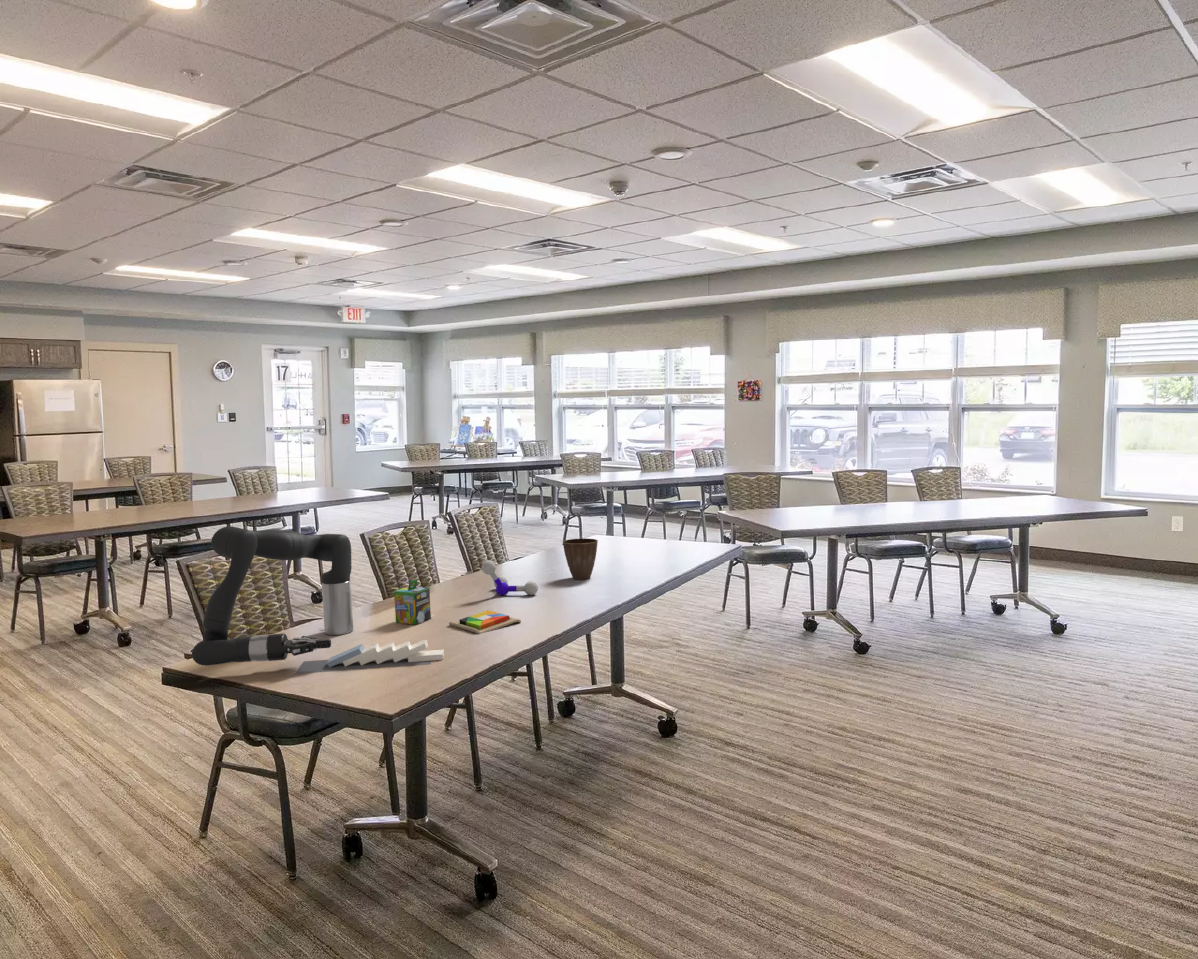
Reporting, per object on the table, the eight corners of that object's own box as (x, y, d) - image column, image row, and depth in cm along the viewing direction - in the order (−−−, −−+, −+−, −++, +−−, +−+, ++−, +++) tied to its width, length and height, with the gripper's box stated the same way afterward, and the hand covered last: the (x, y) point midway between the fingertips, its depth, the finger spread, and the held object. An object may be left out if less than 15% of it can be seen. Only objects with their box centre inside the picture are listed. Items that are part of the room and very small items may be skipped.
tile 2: (342, 661, 244) (375, 647, 245) (345, 656, 249) (377, 642, 250) (345, 666, 244) (377, 652, 245) (348, 661, 249) (379, 647, 250)
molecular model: (533, 600, 323) (531, 561, 322) (481, 600, 326) (479, 561, 325) (545, 588, 344) (544, 551, 343) (496, 588, 347) (494, 552, 346)
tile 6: (408, 656, 246) (442, 654, 248) (409, 651, 251) (443, 649, 252) (408, 662, 246) (443, 659, 248) (410, 657, 251) (444, 654, 253)
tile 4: (375, 659, 245) (407, 645, 246) (377, 654, 250) (409, 640, 251) (377, 664, 245) (409, 650, 246) (379, 659, 250) (411, 645, 251)
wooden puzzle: (447, 627, 289) (446, 617, 288) (492, 616, 302) (491, 606, 301) (477, 636, 276) (476, 625, 276) (522, 624, 289) (522, 614, 289)
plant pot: (561, 575, 367) (560, 539, 365) (595, 573, 369) (594, 537, 368) (566, 582, 352) (565, 544, 351) (602, 580, 355) (600, 542, 353)
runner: (294, 675, 239) (294, 673, 239) (303, 662, 251) (303, 661, 251) (430, 665, 244) (430, 664, 244) (433, 653, 256) (433, 652, 256)
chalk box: (410, 617, 303) (408, 576, 301) (432, 619, 299) (429, 577, 298) (394, 623, 294) (392, 581, 293) (416, 625, 290) (414, 583, 289)
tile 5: (392, 657, 246) (424, 643, 247) (394, 652, 251) (425, 638, 252) (394, 662, 246) (426, 648, 247) (396, 657, 251) (428, 643, 252)
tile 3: (358, 660, 245) (391, 646, 245) (361, 655, 250) (393, 641, 250) (361, 665, 245) (393, 651, 246) (363, 660, 250) (395, 646, 251)
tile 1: (326, 662, 244) (359, 648, 244) (330, 657, 249) (362, 643, 249) (329, 667, 244) (361, 653, 245) (332, 662, 249) (364, 648, 250)
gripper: (275, 654, 250) (335, 649, 252) (263, 667, 237) (326, 662, 239) (273, 629, 249) (334, 625, 252) (261, 640, 236) (325, 636, 238)
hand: (330, 643), depth 245 cm, fingers closed
